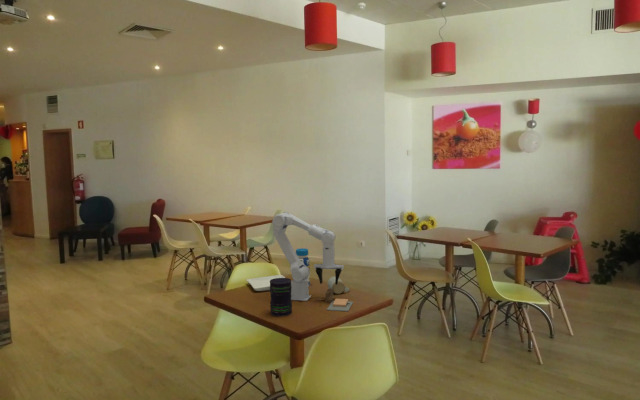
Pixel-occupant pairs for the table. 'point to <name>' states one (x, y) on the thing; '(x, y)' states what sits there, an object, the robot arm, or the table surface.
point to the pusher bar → (329, 295)
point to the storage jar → (280, 296)
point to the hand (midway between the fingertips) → (328, 283)
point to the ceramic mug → (339, 287)
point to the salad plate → (262, 282)
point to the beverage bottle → (304, 259)
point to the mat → (340, 307)
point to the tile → (340, 303)
